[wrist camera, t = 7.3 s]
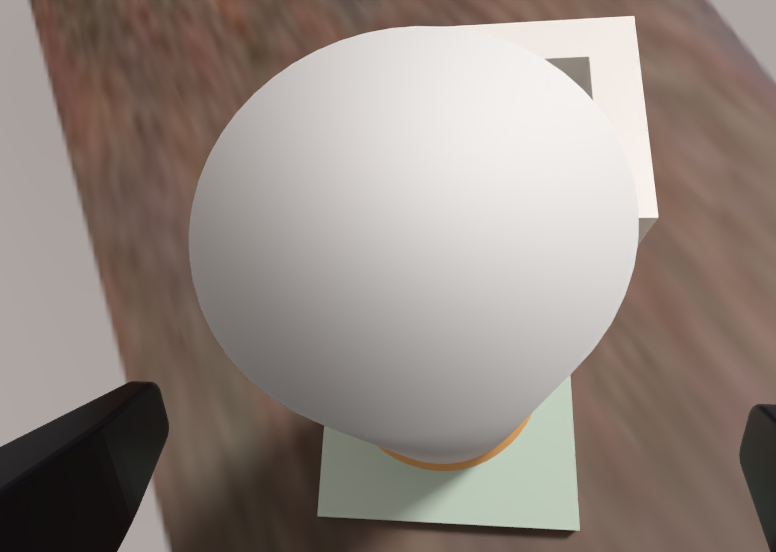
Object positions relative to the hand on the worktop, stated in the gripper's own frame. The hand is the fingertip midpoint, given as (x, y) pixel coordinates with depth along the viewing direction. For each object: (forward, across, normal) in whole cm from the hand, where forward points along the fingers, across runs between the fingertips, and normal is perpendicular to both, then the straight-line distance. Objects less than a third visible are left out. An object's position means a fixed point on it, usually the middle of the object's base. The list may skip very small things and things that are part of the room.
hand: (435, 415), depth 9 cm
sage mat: (+9, 0, +6) cm, 11 cm away
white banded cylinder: (+8, 0, +6) cm, 10 cm away
